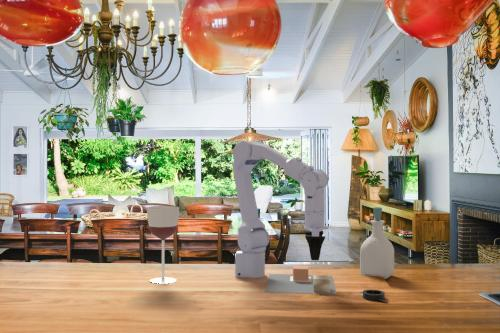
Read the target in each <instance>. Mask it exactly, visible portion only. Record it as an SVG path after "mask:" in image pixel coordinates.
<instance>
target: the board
mask: <svg viewBox="0 0 500 333" xmlns="http://www.w3.org/2000/svg"><path fill="white" fill-rule="evenodd" d="M313 275H314V274H308V281H294V280H293V274H288V273H287V274H286V273H284V274H282V273H269V274H268V279H267V282H266V286H265V289H264V293H278V294H279V293H282V294H284V293H287V294H315V295H317V294H319V295H337V294H338V293H337V290H336V285H335V282H334V281H335V280H334V279H333V278H334V277H333V275H329V276H330V292H314V289H313ZM322 276H327V275H326V274H325V275H323V274H322Z"/></svg>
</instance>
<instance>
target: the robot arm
mask: <svg viewBox="0 0 500 333" xmlns="http://www.w3.org/2000/svg"><path fill="white" fill-rule="evenodd" d="M232 155H233V165H232V174H233V179H234V183H235V190H236V195H237V201H238V204H239V205H238V206H239V211H240V216H241V223H240V225H239V227H238V229H237V233H238V234H237V245H238V247H239V249H240V250H236V252H235V260H234V261H235V267H234V268H235V269H234V274H235V275H234V276H235V277H236V278H252V279H256V278H257V279H258V278H262V277H265V274H266V273H265V272H266V271H265V270H266V268H265V267H266V266H265V265H266V260H265V259H266V250H267V246H268V245H269V243H270V234H269V232H268V231H267V229H266V226H265V225H266V224H265V223H264V222H263V221H261V219H260V217H259V216H260V215H259V211H258V206H257V205H258V204H257V202H256V195H255V190H254V186H253V185H254V184H253V180H252V174H251V173H252V171H253V168H254V167H256V166H257V165H258V164H259V163H261V161H263V160H266V161H269V162H270V163H272V164H275V165H276V166H278V167H280V168H282V169H283V172H284V174H285V175H286V176H288V177H289V178H291V179H293V180H295V181H296V182H298V183H300V185H301V187H302V188H303V191H304V192H303V194H304V226H303V229H304V230H305V231H304V234H305V236H304V237H305V240H306V242H307V245H308V248H309V255H310V260H311V261H320V257H321V251H322V246H323V244H324V241H325V239H326V236H324V231H325V230H328V229H329V225H325V188H326V186H327V185H328V182H329V177H328V175H327V173H326V172H325V171H324V170H323V169H315V167H314V166H313V165H308V164H306V163H305V162H303V161H302V158H300V157H292V158H288V157H287V156H285V155H283V154H282V153H280V152H279V151H277V150H276V149H275V148H273V147H272V146H270V145H269V144H267V143H264V142H263V141H259V140H258V141H248V140H240V141H238V142H237V143H236V144H235V146H234V148H233V149H232Z"/></svg>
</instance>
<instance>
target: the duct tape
mask: <svg viewBox="0 0 500 333" xmlns="http://www.w3.org/2000/svg"><path fill="white" fill-rule="evenodd" d="M359 294H360V295H362V299H364V300H368V301H371V302H372V301H375V302H376V301H377V302H382V303H385V304H390V301H389V302H388V301H387V300H385V299H386V298H385V297H386V293H385V291H383V290H380V289H365V290H362V291H361V292H359Z"/></svg>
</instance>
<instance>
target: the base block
mask: <svg viewBox="0 0 500 333" xmlns="http://www.w3.org/2000/svg"><path fill="white" fill-rule="evenodd" d="M292 270H293V271H292V272H293V273H292V275H293V280H294V281H308V275H309V265H293V267H292Z"/></svg>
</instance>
